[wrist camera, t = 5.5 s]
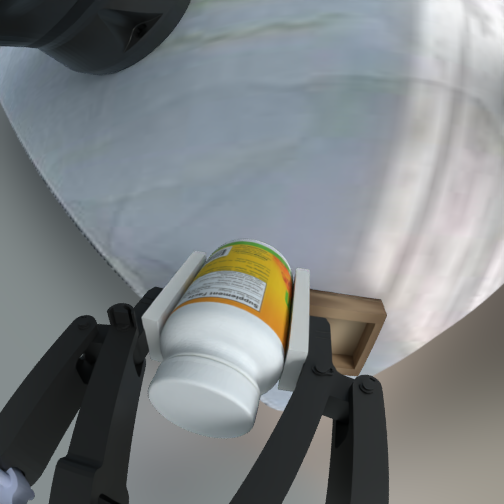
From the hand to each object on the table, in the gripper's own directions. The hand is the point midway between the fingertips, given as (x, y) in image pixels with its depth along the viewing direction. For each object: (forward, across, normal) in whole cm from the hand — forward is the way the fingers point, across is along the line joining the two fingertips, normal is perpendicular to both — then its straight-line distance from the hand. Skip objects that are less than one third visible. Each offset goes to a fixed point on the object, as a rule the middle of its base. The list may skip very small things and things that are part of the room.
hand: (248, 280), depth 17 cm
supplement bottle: (+1, 0, 0) cm, 1 cm away
